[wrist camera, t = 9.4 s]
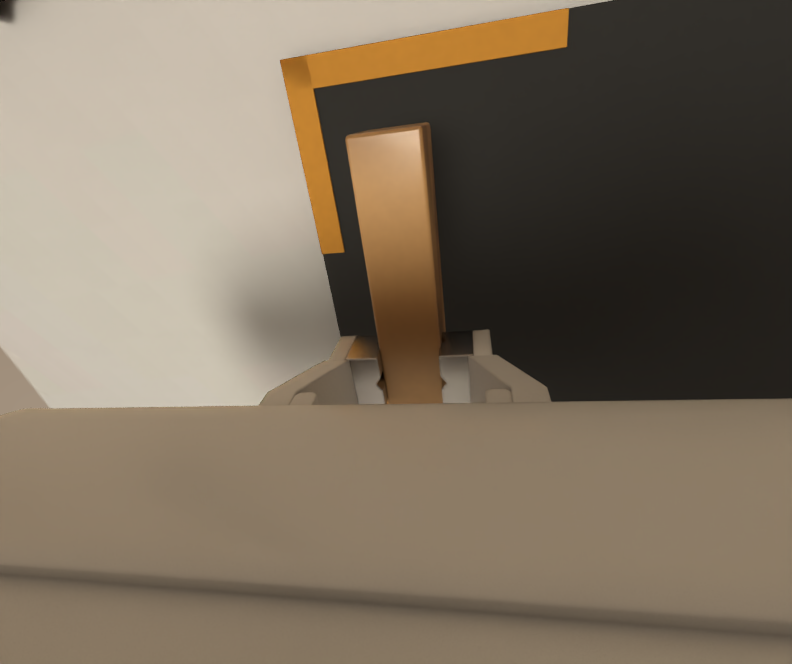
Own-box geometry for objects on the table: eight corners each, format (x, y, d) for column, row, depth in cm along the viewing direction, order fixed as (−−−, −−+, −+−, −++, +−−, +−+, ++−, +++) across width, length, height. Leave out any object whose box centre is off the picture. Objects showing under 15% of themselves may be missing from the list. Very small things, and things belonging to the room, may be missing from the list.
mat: (1185, -101, 10) (1215, -109, 10) (890, 427, 18) (901, 435, 18) (285, 61, 15) (279, 60, 14) (362, 427, 23) (360, 433, 22)
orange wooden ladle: (316, 137, 12) (281, 143, 10) (485, 113, 11) (492, 115, 9) (379, 465, 18) (367, 517, 16) (492, 467, 17) (497, 522, 15)
